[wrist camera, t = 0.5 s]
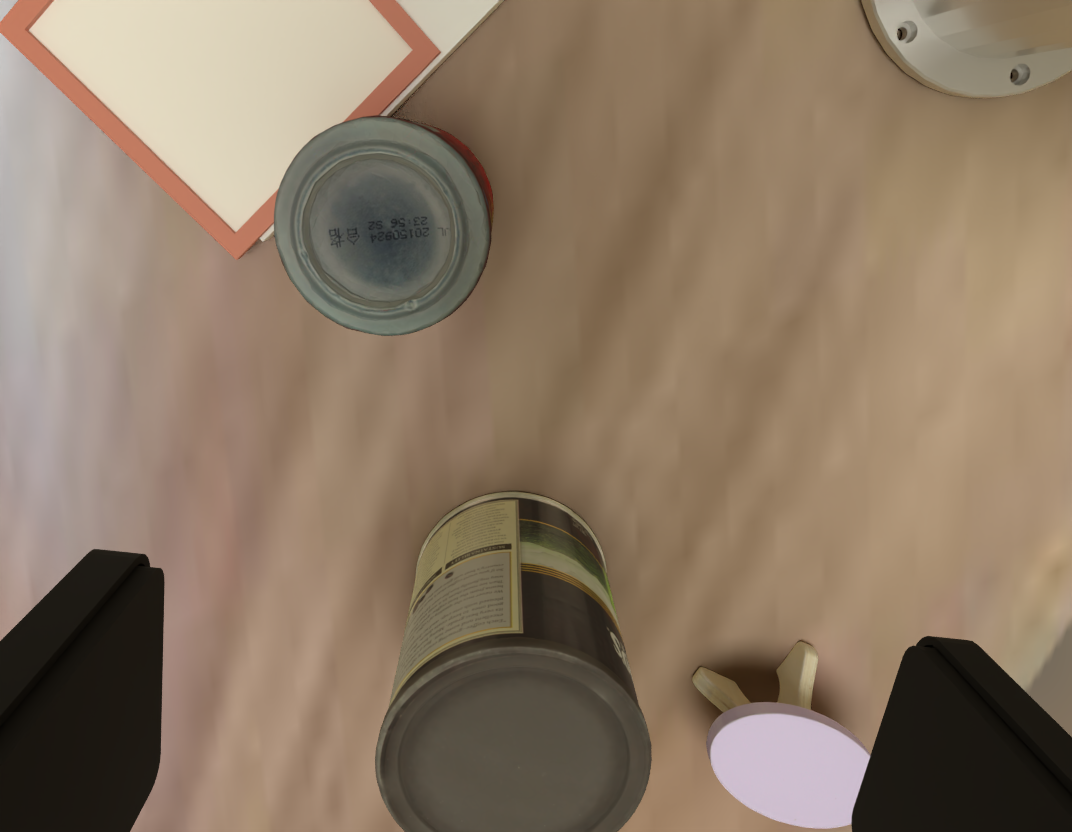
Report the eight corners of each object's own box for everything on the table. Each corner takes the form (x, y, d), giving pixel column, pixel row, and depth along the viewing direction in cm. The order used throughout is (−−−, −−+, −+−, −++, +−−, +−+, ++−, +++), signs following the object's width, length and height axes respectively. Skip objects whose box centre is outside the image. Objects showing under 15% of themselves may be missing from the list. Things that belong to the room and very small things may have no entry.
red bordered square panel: (207, -216, 31) (202, -221, 30) (441, 52, 34) (440, 51, 34) (2, 29, 33) (-5, 27, 33) (239, 258, 37) (236, 259, 36)
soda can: (318, 142, 36) (234, 143, 25) (473, 107, 36) (462, 91, 25) (362, 296, 39) (304, 363, 27) (508, 264, 38) (513, 318, 27)
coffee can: (615, 493, 42) (668, 655, 29) (596, 662, 46) (636, 878, 32) (416, 483, 42) (376, 643, 28) (411, 655, 45) (372, 872, 32)
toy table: (877, 695, 47) (925, 768, 42) (765, 793, 49) (798, 874, 44) (759, 601, 45) (794, 665, 39) (647, 708, 47) (666, 782, 41)
